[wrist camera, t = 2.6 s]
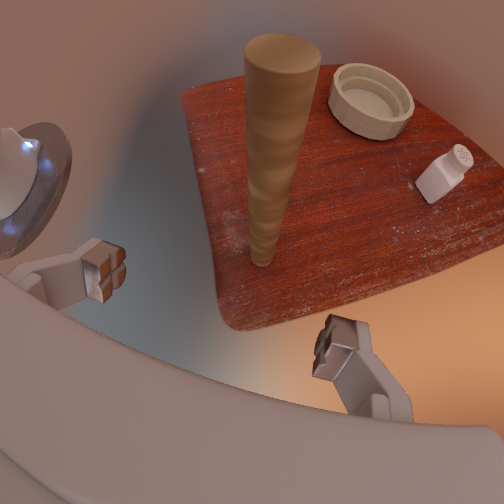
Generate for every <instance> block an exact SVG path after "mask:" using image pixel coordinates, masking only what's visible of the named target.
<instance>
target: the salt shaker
mask: <svg viewBox="0 0 504 504" xmlns="http://www.w3.org/2000/svg"><path fill="white" fill-rule="evenodd" d="M472 165H473V157H472V155H471V153H470V152H469V151H468V149H467V148H466V147H464V146H462V145H460V144H456V145H455V146H454V147H453V148H452V149H451V150H450V151H449V152H448V153H447V154H444V155H442V156H440V157H439V158H437V159H436V160H434V161H433V162H432V163H431V165H430V166H429V167H428V168H427V169H426V170H425V171H424V172H423V173H422V174H421V175H420V177H419V178H418V179H417V180H416V182H415V184H416V186H417V188H418V189H419V191H420V192H421V193H422V195H423V196H424V198H425V199H426V201H427V202H428V203H429V204H432V203H434V202H436V201H437V200H439V199H440V198H442V197H443V196H444V195H445V194H447V193H448V192H449V191H450V190H451V189H452V188H454V187H455V186H456V185H457V184H458V183H459V182H461V181H462V180H463V179H464V173H465V172H466V171H467V170H468V169H469V168H470V167H472Z"/></svg>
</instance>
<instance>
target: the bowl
mask: <svg viewBox="0 0 504 504" xmlns="http://www.w3.org/2000/svg"><path fill="white" fill-rule="evenodd" d="M328 105H329V107H330V109H331V111H332V113H333V115H334V116H335V117H336V118H337V119H338V120H339V122H340V123H341V124H342V125H343V126H345V127H347V128H348V129H350V130H351V131H353V132H354V133H356V134H359V135H361V136H364V137H366V138H370V139H376V140H387V139H392V138H395V137H396V136H397V135H398V134H399V133H401V132H402V130H403V128H404V127H405V125H406V124H407V122H408V121H409V119H410V117H411V116H412V114H413V110H414V102H413V98H412V96H411V94H410V93H409V91H408V90H407V88H406V87H405V86H404V85H403V84H402V83H401V82H400V81H399V80H398V79H397V78H396V77H394V76H392V75H391V74H389V73H388V72H386V71H384V70H382V69H380V68H377V67H375V66H371V65H367V64H361V63H352V64H346V65H344V66H342V67H340V68H338V70H337V71H336V72H335V74H334V76H333V80H332V83H331V87H330V91H329V94H328Z"/></svg>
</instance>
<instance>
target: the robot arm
mask: <svg viewBox="0 0 504 504" xmlns="http://www.w3.org/2000/svg"><path fill="white" fill-rule="evenodd" d="M40 147H41V142H40V141H38V140H36V139H29V138H22V137H21V136H20V135H19V134H18V133H17V132H16V131H15V130H14V129H13V128H2V129H0V220H3V219H5V218H7V217H9V216H10V215H12V214H13V213H14V212H15V211H16V210H17V209H18V208H19V207H20V205H21V204H22V203H23V201H24V200H25V199H26V197H27V195H28V194H29V192H30V190H31V188H32V185H33V183H34V180H35V177H36V174H37V169H38V153H39V150H40ZM125 258H126V254H125V250H124V248H122V247H119V246H117V245H114V244H111V243H109V242H106V241H103V240H101V239H98V238H91V239H90V240H89V241H87V242H86V243H84V244H83V245H82V246H80V247H79V248H77V249H76V250H75V251H73V252H72V253H71V254H68V253H65V254H61V255H56V256H52V257H47V258H43V259H39V260H34V261H30V262H26V263H21V264H20V265H18V266H17V267H16V268H14V269H13V270H12V271H10V272H9V273H8V274H7V275H5V276H2V275H1V274H0V504H504V442H503V440H502V439H501V438H500V437H499V435H498V434H497V433H496V432H495V431H494V430H493V429H492V428H491V427H490V426H487V425H443V424H442V425H441V424H424V423H414V419H413V411H412V404H411V399H410V397H409V396H408V394H407V393H406V392H405V390H404V389H403V388H402V387H401V385H400V384H399V383H398V382H397V380H396V379H395V378H394V376H393V375H392V374H391V373H390V372H389V370H388V369H387V368H386V366H385V365H384V364H383V363H382V361H381V360H380V359H379V358H378V356H377V355H375V354H373V352H372V345H371V337H370V331H369V325H368V323H365V322H361V321H357V320H351V319H347V318H344V317H340V316H336V315H332V314H329V316H328V317H327V319H326V321H325V328H324V329H322V330H321V331H320V333H319V335H318V338H317V341H316V344H315V350H314V355H315V356H316V359H315V360H314V363H313V371H312V372H313V373H312V376H313V377H316V378H320V379H324V380H328V381H332V382H333V383H334V386H335V388H336V390H337V392H338V394H339V396H340V397H341V400H342V402H343V404H344V406H345V408H346V410H347V412H348V414H343V413H338V412H333V411H328V410H323V409H318V408H313V407H309V406H304V405H300V404H295V403H291V402H287V401H283V400H279V399H275V398H271V397H268V396H264V395H260V394H257V393H253V392H250V391H246V390H243V389H240V388H237V387H233V386H230V385H227V384H224V383H221V382H218V381H215V380H212V379H209V378H206V377H203V376H201V375H198V374H195V373H192V372H190V371H187V370H184V369H181V368H179V367H176V366H174V365H171V364H169V363H166V362H164V361H161V360H159V359H156V358H154V357H151V356H149V355H147V354H144V353H142V352H139V351H137V350H135V349H133V348H131V347H128V346H126V345H124V344H122V343H120V342H118V341H116V340H113V339H111V338H109V337H107V336H105V335H103V334H101V333H99V332H97V331H95V330H93V329H91V328H89V327H87V326H85V325H83V324H82V323H79V322H78V321H76V320H74V319H72V318H70V317H69V316H67V315H65V314H63V313H61V312H60V311H58V310H60V309H62V308H65V307H67V306H69V305H72V304H74V303H76V302H79V301H81V300H83V299H86V298H87V297H88V298H91V299H93V300H95V301H97V302H100V303H102V304H104V303H105V302H106V300H108V299H109V298H110V297H111V295H112V290H114V289H118V288H119V287H120V286H121V285H122V283H123V281H124V279H125V276H126V266H125V265H124V263H123V260H124V259H125Z"/></svg>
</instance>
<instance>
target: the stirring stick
mask: <svg viewBox="0 0 504 504" xmlns="http://www.w3.org/2000/svg"><path fill="white" fill-rule="evenodd" d="M320 63H321V54H320V52H319V50H318V49H317V48H316V46H315V45H313V44H312V43H311V42H309V41H307V40H306V39H303V38H301V37H298V36H295V35H290V34H282V33H273V34H265V35H261V36H258V37H256V38H254V39H252V40H251V41H250V42H249V43H248V44H247V45H246V47H245V49H244V71H245V107H246V140H247V173H248V206H249V237H250V258H251V261H252V262H253V263H254V264H255V265H256V266H259V267H265V266H268V265H269V264H270V263H271V262H272V260H273V257H274V254H275V250H276V246H277V242H278V238H279V234H280V230H281V227H282V223H283V219H284V215H285V211H286V207H287V203H288V199H289V195H290V191H291V187H292V183H293V179H294V175H295V171H296V167H297V162H298V158H299V154H300V150H301V146H302V142H303V137H304V133H305V129H306V125H307V120H308V116H309V112H310V107H311V103H312V99H313V94H314V90H315V85H316V81H317V77H318V72H319V67H320Z"/></svg>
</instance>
